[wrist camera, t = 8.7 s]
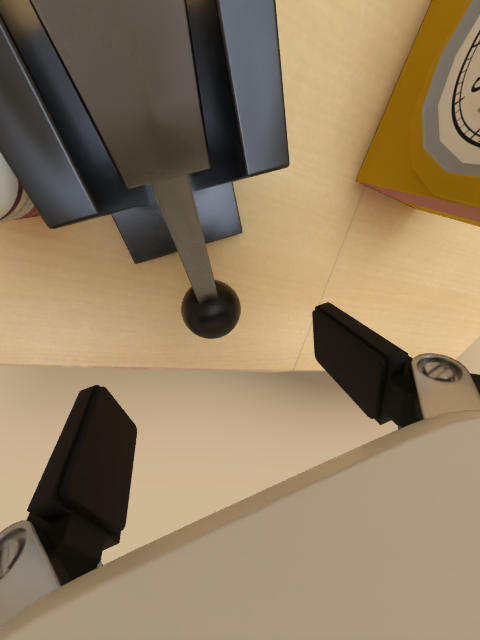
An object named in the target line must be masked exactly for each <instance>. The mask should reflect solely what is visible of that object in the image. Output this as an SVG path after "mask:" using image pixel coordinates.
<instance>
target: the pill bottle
mask: <svg viewBox="0 0 480 640" xmlns="http://www.w3.org/2000/svg"><path fill="white" fill-rule="evenodd" d="M35 216H41V215H40V214H39V212H38V211H37V209H36V208H35V206H34V204H33V203H32V201H31V200H30V198H29V197H28V195H27V193H26V192H25V190H24V189H23V187H22V186H21V184H20V182H19V181H18V179H17V178H16V176H15V175H14V173H13V171H12V170H11V168H10V167H9V165H8V164H7V162H6V160H5V159H4V157H3V156H2V154H1V153H0V222H3V221H10V220H17V219H24V218H29V217H35Z"/></svg>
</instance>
